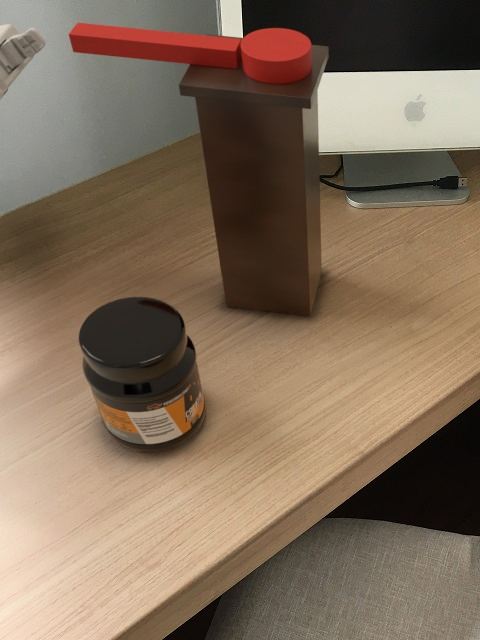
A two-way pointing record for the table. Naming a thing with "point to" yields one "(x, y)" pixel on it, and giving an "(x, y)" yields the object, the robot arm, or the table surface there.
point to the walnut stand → (262, 182)
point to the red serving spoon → (204, 49)
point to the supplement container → (143, 373)
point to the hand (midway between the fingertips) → (19, 60)
